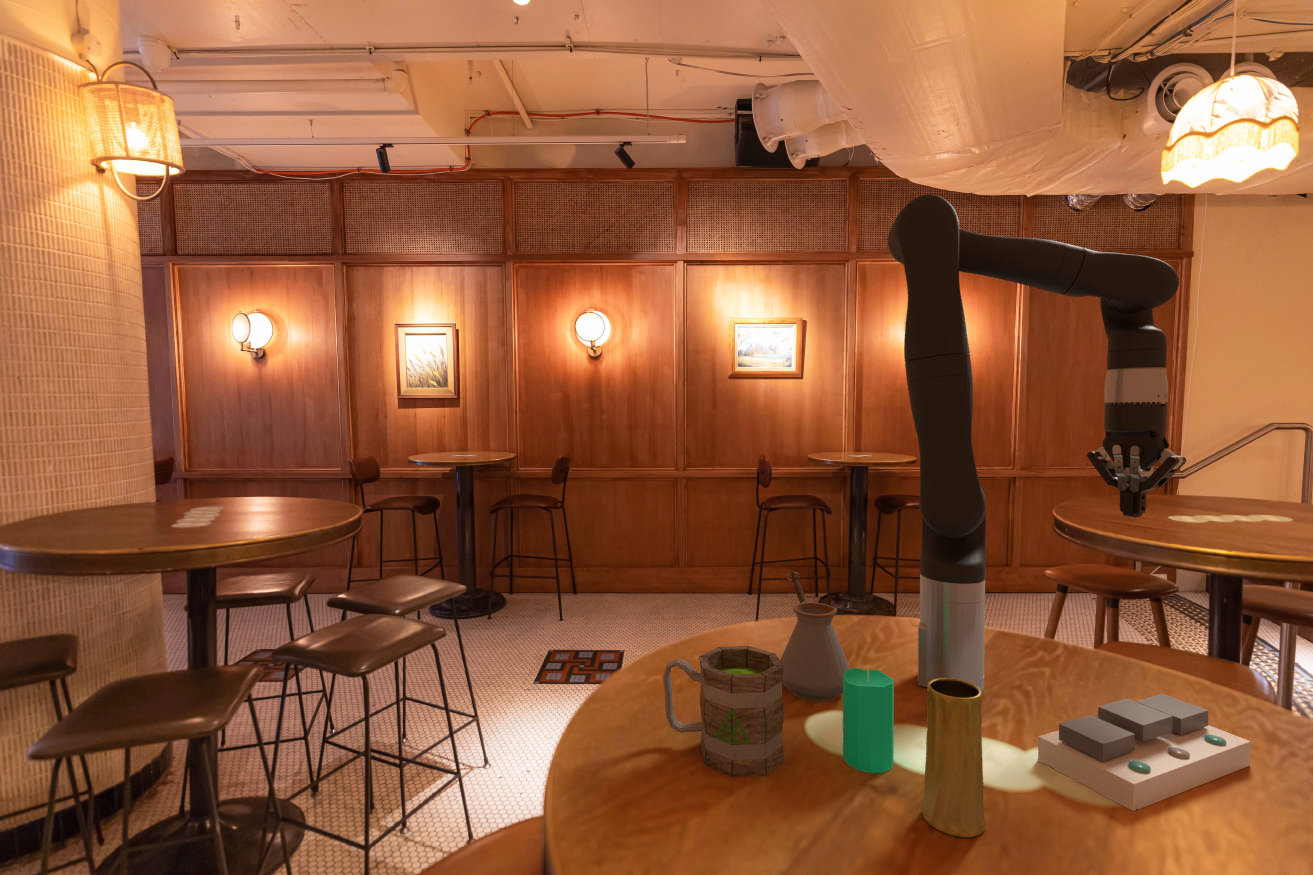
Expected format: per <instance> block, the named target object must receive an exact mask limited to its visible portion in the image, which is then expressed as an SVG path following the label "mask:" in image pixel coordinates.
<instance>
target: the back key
mask: <svg viewBox="0 0 1313 875" xmlns="http://www.w3.org/2000/svg"><path fill="white" fill-rule="evenodd" d="M1134 701H1135V700H1134ZM1135 702H1138V703H1140V704H1143V705H1145V706H1148V707H1151V708H1153V709H1156V710H1158V711H1161V712H1163V713H1166V714H1169V715H1171V716H1173V722H1172V732H1175V733H1177V734H1179V735H1182V734H1185V733H1188V732H1191V731H1194V730H1197V729H1200V728H1203V727H1206V726H1208V725H1209V709H1206V708H1203V707H1200V706H1198V705H1195V704H1194V703H1193V704H1192V703H1190V702H1187V701H1184V700H1182V699H1178V698H1175V697H1174V696H1170V695H1167V694H1165V693H1159V694H1156V695H1152V696H1150V697H1149V696H1148V697H1145V698H1142V699H1137V700H1136V701H1135Z"/></svg>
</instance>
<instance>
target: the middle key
mask: <svg viewBox="0 0 1313 875" xmlns="http://www.w3.org/2000/svg"><path fill="white" fill-rule="evenodd" d="M1097 709H1098V710H1097V718H1099V719H1101V720H1103V721H1106V722H1108V723H1110V724H1113V725H1115V726H1117V727H1120V728H1122V729H1124V730H1126V731H1129V732H1131V733H1133V734H1135V739H1137V740H1140V741H1142V742H1144V741H1147V740H1150V739H1153V738H1156V737H1159V736H1162V735H1165V734H1168V733H1171V732H1172V722H1173V716H1171V715H1169V714H1166V713H1163V712H1161V711H1158V710H1156V709H1153V708H1151V707H1148V706H1145V705H1143V704H1140V703H1138V702H1135V700H1132V699H1130V698H1128V697H1127V698H1123V699H1120V700H1116V701H1113V702H1109V703H1105V704H1102V705H1098V707H1097Z"/></svg>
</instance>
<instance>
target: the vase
mask: <svg viewBox="0 0 1313 875" xmlns="http://www.w3.org/2000/svg"><path fill="white" fill-rule="evenodd" d="M926 688H927V690H926V705H927V706H926V708H927V710H926V712H927V713H926V714H927V724H926V725H927V726H926V738H925V739H926V740H925V741H926V743H925V744H926V746H925V749H926V750H925V766H924V782H923V802H922V806H921V808H922V809H921V811H922V816H923V818H924V820H925V821H926V822H927V823H928V824H929V825H930V826H931V827H933V828H934V829H936V830H938V831H939V832H941V833H944V834H946V835H949V836H954V837H959V838H973V837H977V836H979V835H982V833H983V832H984V831H985V829H986V819H985V815H984V814H985V813H984V812H985V811H984V810H985V809H984V806H985V805H984V774H983V771H984V770H983V769H984V768H983V765H984V764H983V762H984V761H983V736H982V735H983V734H982V732H983V731H982V730H983V729H982V721H983V716H982V715H983V714H982V700H983V692H981V690H980V688H979V687H977V686H976V685H974V684H972V683H970V682H967V681H964V680H960V679H955V678H935V679H932V680H930V681H929V682H928V684H927V687H926Z"/></svg>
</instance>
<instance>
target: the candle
mask: <svg viewBox="0 0 1313 875" xmlns="http://www.w3.org/2000/svg"><path fill="white" fill-rule="evenodd" d="M894 684H895V678H893V677H890V676H889V675H887V674H885V673H883V672H882V671H880V670H879V669H870V665H869V664H867V669H865V668H864V669H863V668H858V667H857V668H856V667H852V668H851V669H850V670H847V671H845V673H844V675H843V693H842V758H843V760H844V761H845V764H847V765H848V766H849V767H852V768H853V769H855V770H857V771H860V772H864V773H869V774H881V773H882V774H883V773H886V772H888V771H890V770H892V769H893V766H894V746H895V745H894V734H895V733H894V729H895V728H894V726H895V725H894V724H895V723H894V722H895V720H894V719H895V716H894V714H895V713H894V712H895V711H894V708H895V704H894V703H895V699H894V698H895V692H894V691H895V689H894V688H895V685H894Z"/></svg>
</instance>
